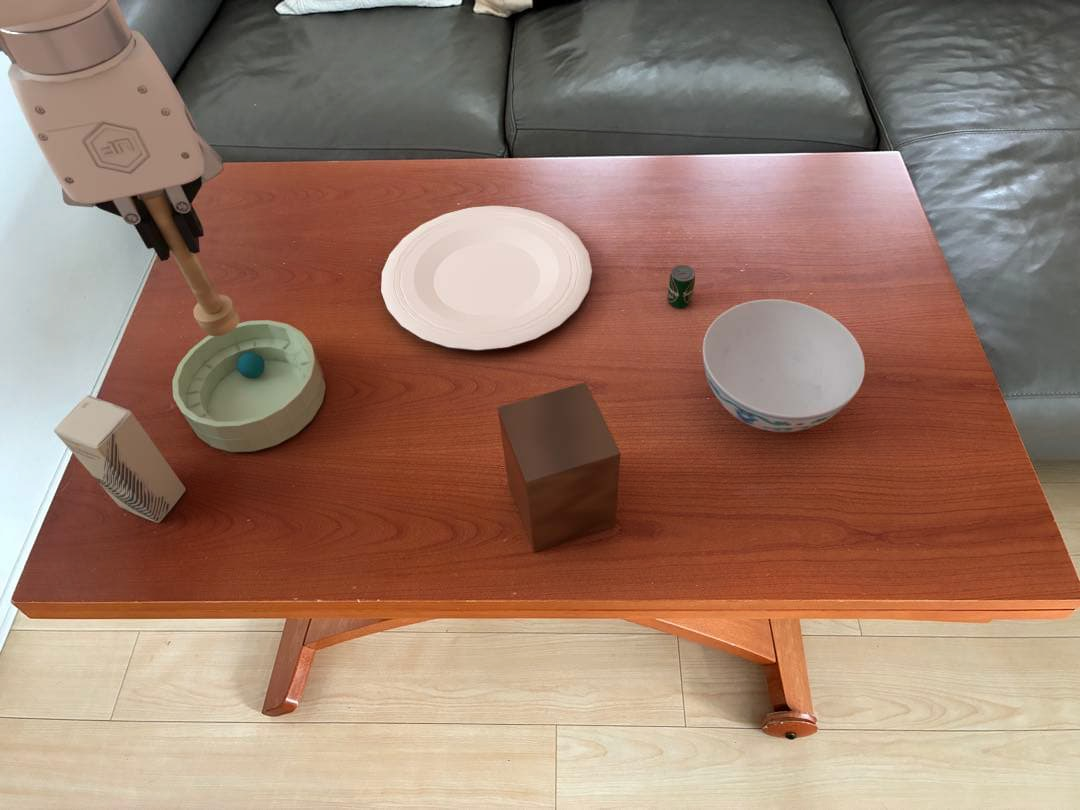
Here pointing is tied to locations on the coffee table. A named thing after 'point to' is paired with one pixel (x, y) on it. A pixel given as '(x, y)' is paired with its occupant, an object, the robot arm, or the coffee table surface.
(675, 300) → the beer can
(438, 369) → the coffee table surface
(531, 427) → the stand
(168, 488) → the box
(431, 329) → the plate
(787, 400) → the chinaware
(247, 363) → the ball
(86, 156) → the robot arm
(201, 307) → the stick
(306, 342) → the bowl
